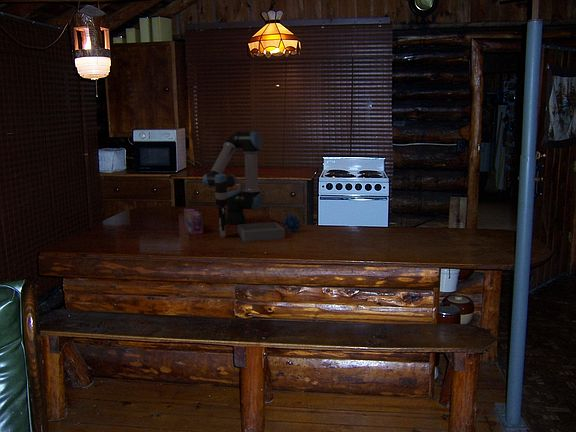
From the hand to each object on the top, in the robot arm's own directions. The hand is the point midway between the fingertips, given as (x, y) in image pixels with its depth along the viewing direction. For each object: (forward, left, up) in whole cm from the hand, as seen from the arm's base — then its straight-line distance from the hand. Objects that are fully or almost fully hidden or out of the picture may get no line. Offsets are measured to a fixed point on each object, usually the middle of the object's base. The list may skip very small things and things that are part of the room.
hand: (222, 234), depth 368 cm
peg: (0, 0, -2) cm, 2 cm away
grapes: (+1, +46, -2) cm, 46 cm away
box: (+5, +24, -2) cm, 25 cm away
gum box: (-24, -16, -2) cm, 29 cm away
